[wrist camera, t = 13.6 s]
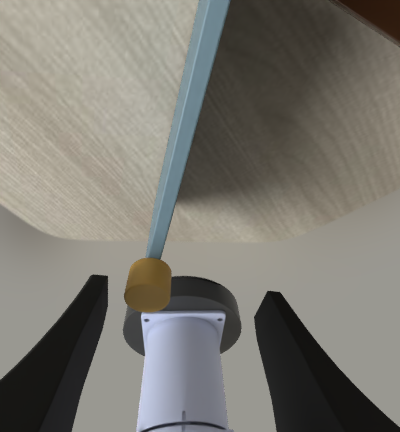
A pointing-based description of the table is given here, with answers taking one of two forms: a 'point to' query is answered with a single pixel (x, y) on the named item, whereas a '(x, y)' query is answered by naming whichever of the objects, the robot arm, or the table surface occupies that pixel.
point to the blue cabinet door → (177, 158)
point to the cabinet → (376, 15)
